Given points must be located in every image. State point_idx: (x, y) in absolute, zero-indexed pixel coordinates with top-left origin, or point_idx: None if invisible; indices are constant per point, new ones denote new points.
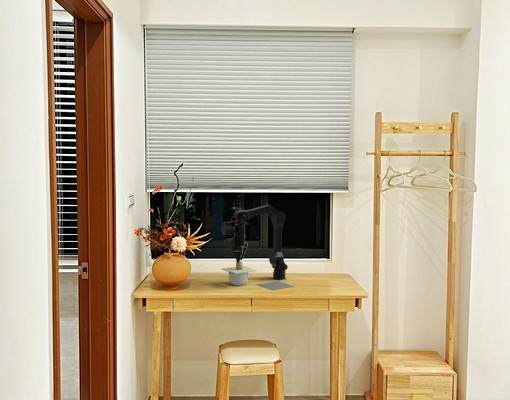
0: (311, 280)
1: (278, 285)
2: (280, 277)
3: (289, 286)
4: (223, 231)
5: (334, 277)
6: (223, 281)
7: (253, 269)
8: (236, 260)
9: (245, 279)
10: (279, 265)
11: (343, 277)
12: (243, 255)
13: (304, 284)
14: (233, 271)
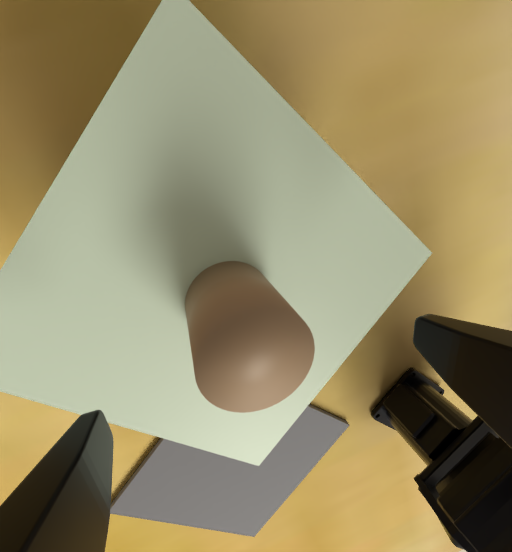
0: (403, 502)
1: (247, 475)
2: (395, 427)
3: (245, 519)
4: None
5: None
6: (273, 60)
7: (278, 430)
8: (36, 469)
9: None
10: (437, 515)
11: None
12: (495, 427)
13: (325, 522)
14: (35, 296)
